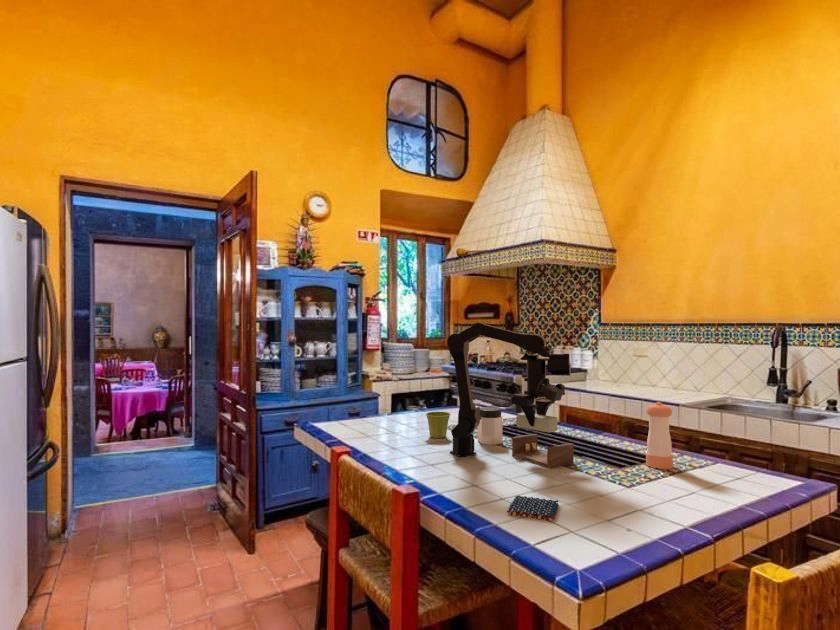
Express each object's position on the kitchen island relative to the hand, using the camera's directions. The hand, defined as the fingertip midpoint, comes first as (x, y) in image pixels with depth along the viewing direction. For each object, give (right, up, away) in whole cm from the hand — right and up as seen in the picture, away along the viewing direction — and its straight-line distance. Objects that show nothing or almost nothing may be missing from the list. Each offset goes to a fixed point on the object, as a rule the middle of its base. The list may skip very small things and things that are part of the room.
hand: (536, 425), depth 156 cm
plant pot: (-30, -12, +33) cm, 46 cm away
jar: (-11, -12, +24) cm, 29 cm away
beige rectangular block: (0, -1, 0) cm, 1 cm away
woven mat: (-10, -11, -41) cm, 44 cm away
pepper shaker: (+36, -11, -5) cm, 38 cm away
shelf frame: (+2, -11, +1) cm, 11 cm away
